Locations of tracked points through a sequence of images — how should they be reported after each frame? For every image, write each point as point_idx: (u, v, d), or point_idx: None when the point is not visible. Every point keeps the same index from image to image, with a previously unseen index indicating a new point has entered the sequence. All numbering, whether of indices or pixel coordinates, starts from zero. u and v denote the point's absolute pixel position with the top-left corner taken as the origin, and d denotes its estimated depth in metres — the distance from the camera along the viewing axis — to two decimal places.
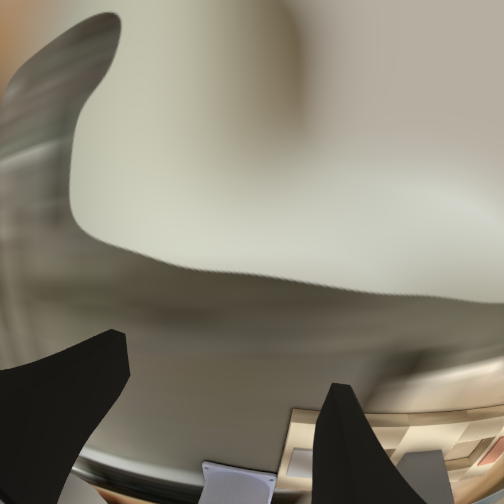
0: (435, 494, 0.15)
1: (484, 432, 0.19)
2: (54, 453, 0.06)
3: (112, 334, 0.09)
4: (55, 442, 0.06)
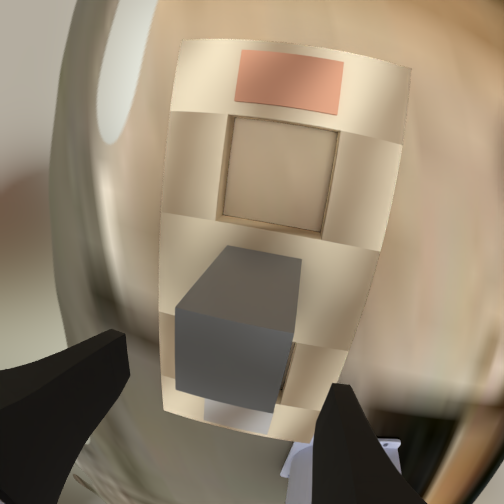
0: None
1: (202, 160, 0.15)
2: (54, 453, 0.06)
3: (112, 334, 0.09)
4: (55, 442, 0.06)
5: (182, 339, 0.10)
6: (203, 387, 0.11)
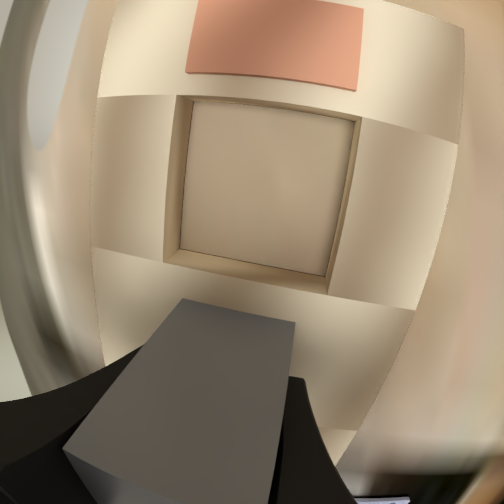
0: None
1: (139, 169, 0.10)
2: None
3: None
4: None
5: (89, 482, 0.05)
6: None
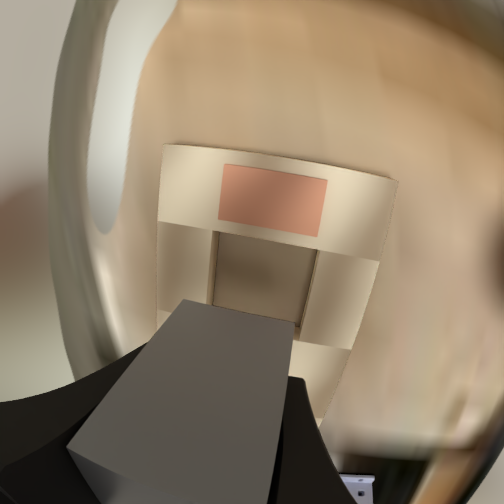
0: None
1: (190, 270, 0.17)
2: None
3: None
4: None
5: (91, 479, 0.05)
6: None
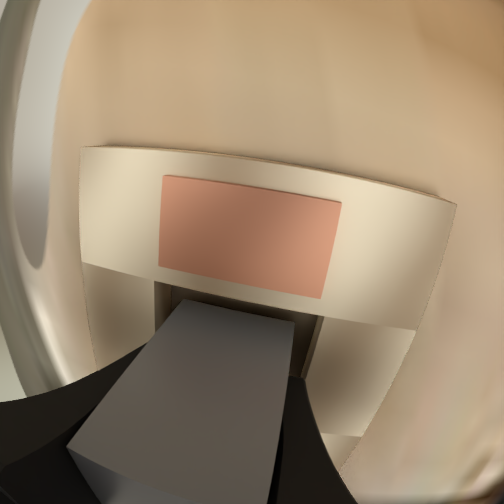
0: None
1: (131, 333, 0.11)
2: None
3: None
4: None
5: (92, 479, 0.05)
6: None
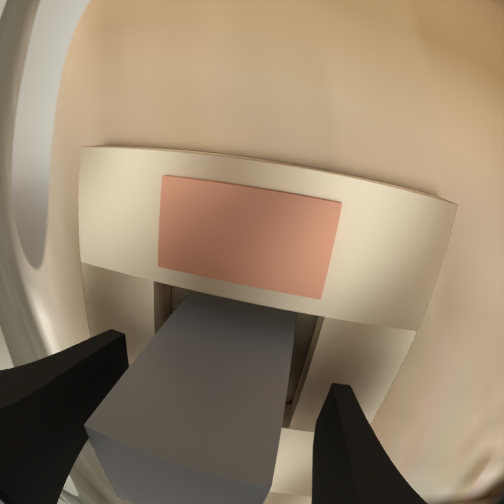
0: None
1: (130, 333, 0.11)
2: (54, 453, 0.06)
3: (112, 334, 0.09)
4: (55, 442, 0.06)
5: (106, 459, 0.05)
6: None
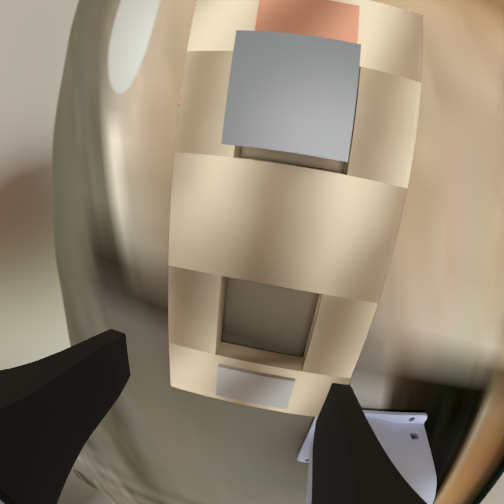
0: None
1: (220, 95, 0.14)
2: (54, 453, 0.06)
3: (112, 334, 0.09)
4: (55, 442, 0.06)
5: (240, 64, 0.08)
6: (259, 128, 0.09)
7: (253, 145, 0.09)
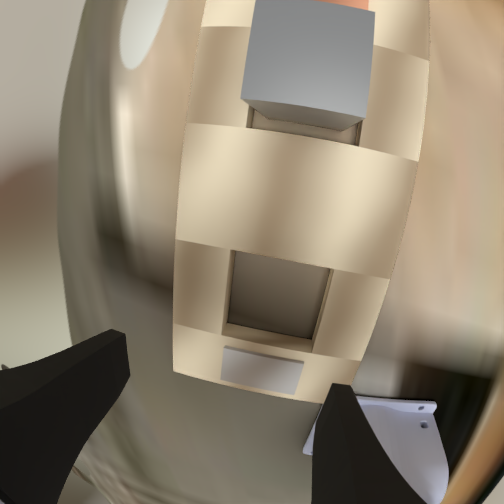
0: None
1: (233, 68, 0.14)
2: (54, 453, 0.06)
3: (112, 334, 0.09)
4: (55, 442, 0.06)
5: (259, 25, 0.08)
6: (279, 84, 0.09)
7: (272, 99, 0.09)
